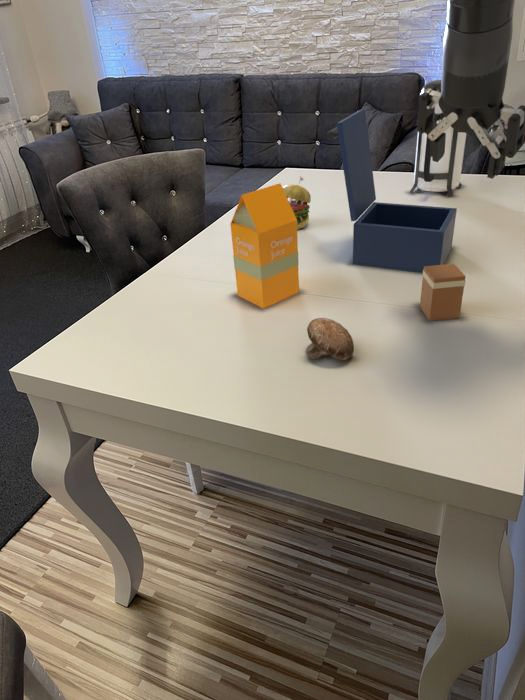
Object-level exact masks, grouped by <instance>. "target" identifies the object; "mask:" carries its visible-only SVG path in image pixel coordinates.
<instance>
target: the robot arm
mask: <svg viewBox="0 0 525 700" xmlns="http://www.w3.org/2000/svg"><path fill="white" fill-rule="evenodd" d="M515 2H516V0H447V3H446V22H445V29H444V35H443V42H442V49H441V50H442V51H441V54H442V59H441V60H442V62H441V63H442V64H441V80H442V82H441V93H440V92H437V89H436V87H435V86H433V85H431V86H430V87H429V88H428V89H427V90H426V91H425V92H424V93H423V94H422V95H421V96H419V97H418V109H417V122H416V123H417V124H416V131H417V133H418V132H419V133H420V134H423V133H426V134H427V135H428V137H429V139H430V155H431V157H433V159H432V160H433V161H435V162H438V161H439V160H440V159H441V158H442V157H443V156H444V153H445V138H446V133H444V131H445V130H446V129H447V128H449V127H450V126H451V127H452V128H453V129H454V131H456V132H465V133H466V135H468V136H471V137H477V138H478V140H479V141H480V143H481V145H482V146H484V147H486V148H487V150H488V151H489V154H490V156H489V161H488V168H487V175H486V177H487V178H488V179H491V180H493V179H494V178H495V177H498V175H500V173H501V172H502V171H503V170H504V168H505V163H506V159H507V158H508V159H513V158H514V157H515V156H516V154H517V153H518V152H519V151H520V150H521V148H522V147H523V146H524V144H525V105H523V104H522V105H519V106H518V107H516V108H510V107H506V106H505V103H504V99H503V98H504V94H505V93H504V92H505V89H506V83H507V81H506V80H507V75H508V67H509V61H510V53H511V47H512V40H513V32H514V31H513V29H514V28H513V26H514V23H513V20H514V10H515ZM438 103H439V107H440V109H441V111H442V112H443V114H444V116H445V118H444V119H443V120H442V121H441V122H439V123H438V124H437V123H435V122H434V114H435V106H436V105H437V104H438ZM500 119H501V120H503V124H504V126H503V124H502V122H501V120H500ZM489 128H490V131H489V132H488V131H487V130H489ZM505 129H506V130H507V131H506V132H507V133H506V135H505V133H504V130H505Z"/></svg>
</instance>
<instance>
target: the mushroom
mask: <svg viewBox="0 0 525 700" xmlns="http://www.w3.org/2000/svg"><path fill="white" fill-rule="evenodd" d="M306 331H307V336H308V339H309V341H310V342H311V343H310V344H309V345H307V347H306V354H307V355H308V357H309V359H311V360H312V361H314V360H317V359H321V358H323V357H326V356H330V357H332V358H334V359H336V360H340V361H346V360H348V359H350V358H351V357H352V356H353V355H354V351H355V345H354V340H353V337H352V335H351V334H350V332H349V330H348V329H347V328H346V327H344V326H343V325H342V324H341V323H340V322H337V321H335V320H334V319H330V318H328V317H327V318H326V317H317V318H314V319H312V320H311V321H310V322H309V323H308V325H307V327H306Z"/></svg>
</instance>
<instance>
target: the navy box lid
mask: <svg viewBox="0 0 525 700" xmlns="http://www.w3.org/2000/svg"><path fill="white" fill-rule="evenodd" d="M326 138H327V140H328V141H333V140H334V139H336V138H338V142H339V149H340V156H341V162H342V170H343V176H344V182H345V189H346V196H347V202H348V209H349V215H350V221H351V222H356V221H357V220H358V219H359V218H360V217H361V216H362V214H363V213H364V212H365V211H366V210H367V209H368V208H369V207H370V206H371V205H372V204H373V203H374V202H376V200H377V196H376V188H375V180H374V172H373V164H372V156H371V155H372V154H371V149H370V147H371V146H370V141H369V131H368V125H367V116H366V109H365V108H363V109H362V108H361V109H358V110H357V111H355V112H354V113H352V114H350V115H348V116H347V117H345V118H343V119H341V120H340V121H338V122H337V123H336V127H335V128H333V129H331V130H329V131H328V132H327V134H326Z"/></svg>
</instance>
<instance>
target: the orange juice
mask: <svg viewBox="0 0 525 700" xmlns="http://www.w3.org/2000/svg"><path fill="white" fill-rule="evenodd" d="M282 187H283V185H282V184H281V183H276V184H273V185H270V186H267V187H263V188H260V189H257V190H253V191H251V192H246V193H243V194H241V195H240V199H239V201H238V204H237V206H236V208H235V211H234V214H233V216H232V219H231V222H230V223H229V224H230V233H231V240H232V241H231V243H232V244H231V245H232V254H233V255H232V256H233V266H234V270H235V271H234V273H235V282H236V292H237V296H238V297H240V298H242V299H243V300H245V301H247V302H250V303H252V304H254V305H255V306H257V307H259V308H261V309H266V308H268V307H270V306H272V305H275V304H276V303H279V302H281V301H283V300H285V299H287V298H290V297H292V296H294V295H296V294H298V293H300V280H299V279H300V277H299V274H300V273H299V264H300V263H299V248H298V247H299V245H298V244H299V243H298V230H297V219H296V217H295V214H294V212H293V210H292V208H291V206H290V203H289V201H290V200H289V198H288V199H287V197H286V195H285V192H284V190H283V188H282Z"/></svg>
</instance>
